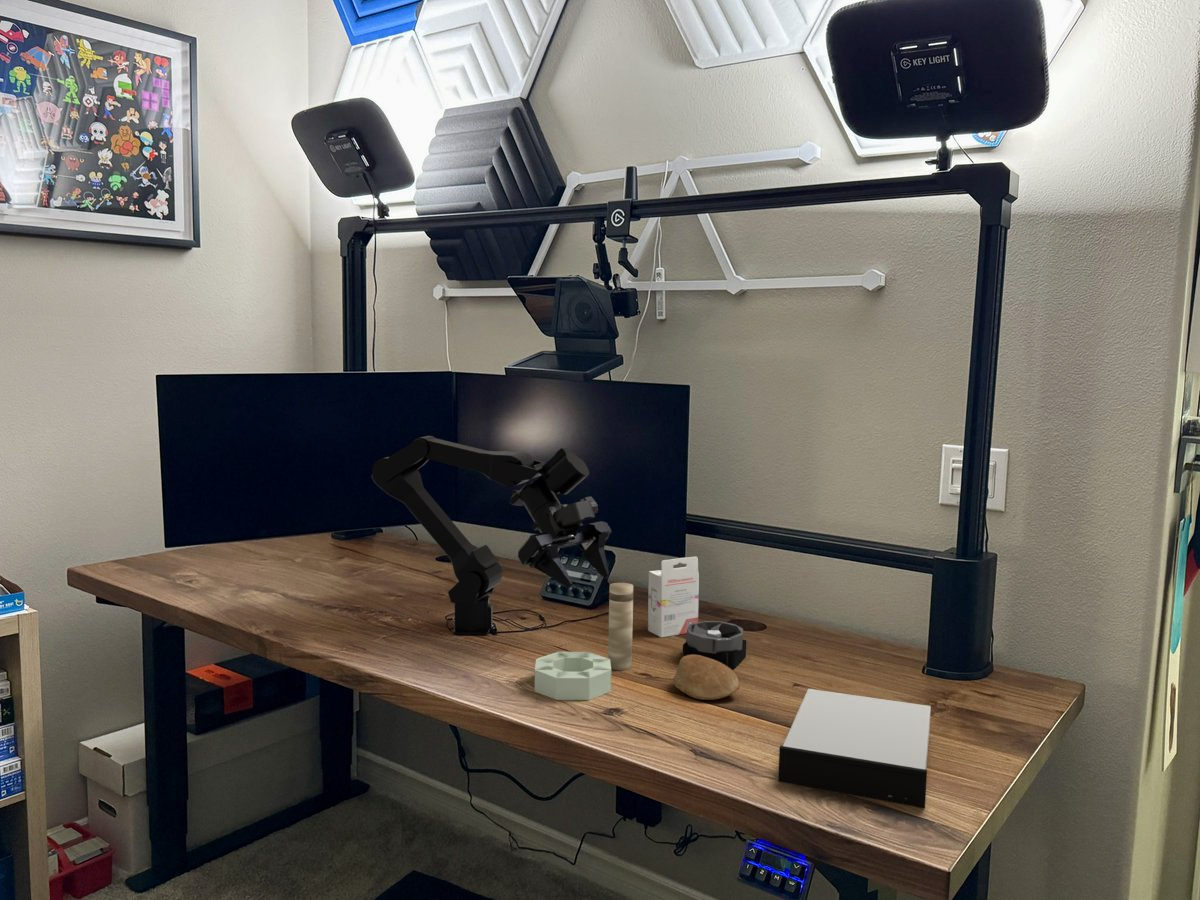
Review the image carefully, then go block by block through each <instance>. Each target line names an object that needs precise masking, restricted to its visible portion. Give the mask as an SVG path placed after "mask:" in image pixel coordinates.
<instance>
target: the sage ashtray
mask: <svg viewBox="0 0 1200 900" xmlns="http://www.w3.org/2000/svg"><path fill="white" fill-rule="evenodd" d="M534 692H535V693H537V694H538V693H539V694H541V695H543V696H546V697H548V698H551V699H553V700H556V701H591V700H593V699H595V698H598V697H600V696H603V695H605V694H609V693H610V692H611V693H612V669H611V663H610V659H608V657H604V656H602V655H599V654H596V653H593V652H590V651H556V652H553V653H550V654H547V655H544V656H541V657H538V658H536V659H535V665H534Z"/></svg>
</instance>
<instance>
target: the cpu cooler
mask: <svg viewBox="0 0 1200 900" xmlns="http://www.w3.org/2000/svg"><path fill="white" fill-rule="evenodd" d="M687 655H701V656H704V657H707V658H710V659H713V660H716V661H718V662H721V663H722V664H724V665H726V666H727V667H729V668H730V669H732V670H733V671H734V670H736V669H737V667H738V666H739V665H740V664H741V663H742V662H743V661H744V659H746V657H747V640H746V639H744V628H743V627H741V626H739V625H737V624H736V623H730V622H727V621H726V622H725V621H722V620H721V621H720V620H719V621H717V620H716V621H715V620H705V621H698V622H697V623H691V624H690V625H689V627H688V628H687V633H686V636H685V642H684V643H683V644H682V655H681V656H682V658H683V657H684V656H687ZM682 658H681V659H682Z"/></svg>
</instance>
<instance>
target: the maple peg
mask: <svg viewBox="0 0 1200 900" xmlns="http://www.w3.org/2000/svg"><path fill="white" fill-rule="evenodd" d="M608 600H609V603H608V605H609V606H608V645H607V646H608V647H607V648H608V650H607V651H608V652H607V653H608V654H607V658H608V659H610V663H611V670H614V671H615V670H616V671H627V670H630V669H632V665H633V664H632V663H633V662H632V660H633V658H632V657H633V617H634V611H633V610H634V584H631V583H627V582H614V583H610V584H609V595H608Z"/></svg>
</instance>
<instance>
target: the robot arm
mask: <svg viewBox="0 0 1200 900" xmlns="http://www.w3.org/2000/svg"><path fill="white" fill-rule="evenodd" d="M428 461H433V462H438V463H439V464H440V463H441V464H445V465H449V466H453V467H457V468H461V469H465V470H470V471H473V472H478V473H480V474H482V475H484V476H485V477H486V478H488V479H489V480H490V481H493V482H495V483H498V484H500V485H502V486H504V487H506V488H507V487H510V488H511V487H515V486H518V485H521V484H524V483H526V484H525V485H524V486H522V488H521V489H520V490H517V489H513V490H512V496H511V497H510V501H509V504H510V505H512V506H520V507H523V506H524V507H525V509H526V510H527V512H528V514H529V515H530V517H531V519H532V520H533V523H532V524H531V526H530V527H531V528H532V530H533V531H534V532H535V531H539V533H534V534H530V535H529V536H528V537H527V539H525V541H524V543H523V544H522V545H521V546H520V547H519V548H518V550H517V557H518V559H519V561H520V563H521V564H522V566H524V567H525V566H529V568H530V569H535V570H537V571H539V572H541V573H542V574H545V575H546V576H548V577H550V578H552V579H553V580H555V581H556V582H558V583H559V584H561V585H563V586H564V587H566V588H567V589H571V588H572V587H573V585H574V584H573V582H572V580H571V577H570V576H569V575H570V574H569V573H568V571H567V570H566V568H565V566H564V564H563V563H562V560H561V559H560V557H559V549H562V548H563V549H564V548H567V547H573V546H576V547H577V549H578V550H580V551H582V553H581V556H582V557H583V558H584V559H585V560H586V561H587V562H588V563H589V564H590V565H591V566H592V567H593V569H595V571H596V572H597V573H598V574H599V576H600V575H601V576H602V578H604V579H605V580H606V579H608V578H609V576H610V571H609V565H608V561H607V557H606V551H605V544H606V541H607V540H608V539H609V536H610V535H611V533H613V531H612V529H611V527H610V526H609V524H608V522H605V521H601V520H600V521H595V522H591V523H588V524H587V525H586V526H585V527H584V528H583V529H582V531H581V532H578V530H580V529H581V528H582V527H583V526H584V524H583V522H585V521H588V520H590V519H591V520H592V519H594V518H595V517H596V515H595V514H598V512H599V507H598V504H597V502H596V501H595V499H594V498H593V497H592V496H585V497H583V498H582V499H579V500H578V502H573V503H570V504H568V503H567V504H566V503H563V504H561V502H560V500H559V499H558V498H557V496H556V495H559V494H561V495H564V496H565V495H567V494H569V493H570V492H571V491H572V490H573V489H574V488H575V487H577V485H579V484H580V483H581V482H583V481H584V480H585V479H586V478H587V477H588V476H589V475H590V470H589V468H588V466H587V464H586V463H585V462H584V460H583V459H582V458H579V456H577V454H575V453H573V452H572V451H570V450H569V449H568V448H567V447H566V446H564V447H561V448H560V449H558V450H557V451H556V452H555V454H554V455H553V456H552V457H551V458H550V459H548V460H547V462H545V461H540V460H536V459H533V458H532V455H530V454H529V453H527V452H525V451H515V450H514V451H513V450H503V451H502V450H497V451H496V450H494V451H493V450H487V449H486V450H485V449H482V448H477V447H473V446H469V445H465V444H461V443H456V442H453V441H448V440H444V439H441V438H436V437H434V436H433V435H426V436H422V437H421V436H420V437H418V438H415V439H414V440H413V441H412V442H411V443H409V444H408V445H406V446H405V447H403V448H401V449H400V450H398V451H396V452H394V453H393V454H391V455H390V456H387V457H383V458H382V457H381V458H379V459H378V460H376V461H375V462H374V464H373V465H372V469H371V478H372V481H373V483H374V484H375V485H376V486H377V487H379V488H380V490H382V491H383V492H384V493H385V494H387V495H388V496H389V497H392V498H393V499H396V500H397V501H399V502H401V503H403V504H404V505H405V507H406V508H407V509H408V510H409V512H410V513H411V514H412V515H413V516H414V518H415V519H416V520H417V521H418V522H419V523H420V524H421V526H422V527H423V528H424V529H425V531H427V532H426V533H428V534H429V535H430V537H431V538H432V539H433V540H434V541H435V542H436V544H437V545H438V546H439V548H440V549H442V551H443V552H444V554H446V556H447V557H448V558H449V560H450V561H451V565H452V570H453V573H454V576H455V578H456V580H457V581H458V582H457V583H456V584H455V585H454V586H452V587H451V589H449V590H448V591H447V592H448V593H447V594H448V597H449V600H450V603H452V604H454V629H453V631H452V634H453V635H480V636H481V635H488V634H489V632H490V630H491V629H492V628H493V604H492V603H490V595H492V594H494V590H495V587H496V586H498V585H499V584H500V582H502V581H501V580H502V579H503V568H502V566H501V564H500V561H501V559H500V558H499V557H496V555H494V553H493V552H492V550H491V549H490V547H489V546H488V545H487V544H484V545H481V546H480V547H477V546H476V545H474V544H472V543H471V542H470V541H469V540H468V539H467V537H466V535H464V533H462V532H461V530H460V529H459V527H457V525H456V524H455V523H454V522H453V520H452V519H450V517H449V516H448V515H447V514H446V513H445V511H444V510H443V509H442V508H441V507H440V505H439V504H438V503H437V502H436V501H435V499H434V498H433V497H432V496H431V494H430V493H429V492H428V491H427V490H426V489H425V487H424V483H423V479H422V476H421V473H420V471H419V469H420V468H422V467H424V466H425V465H426V463H428ZM535 478H537V479H536V480H535V481H530V480H532V479H535ZM490 628H491V629H490ZM488 629H489V630H488Z"/></svg>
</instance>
